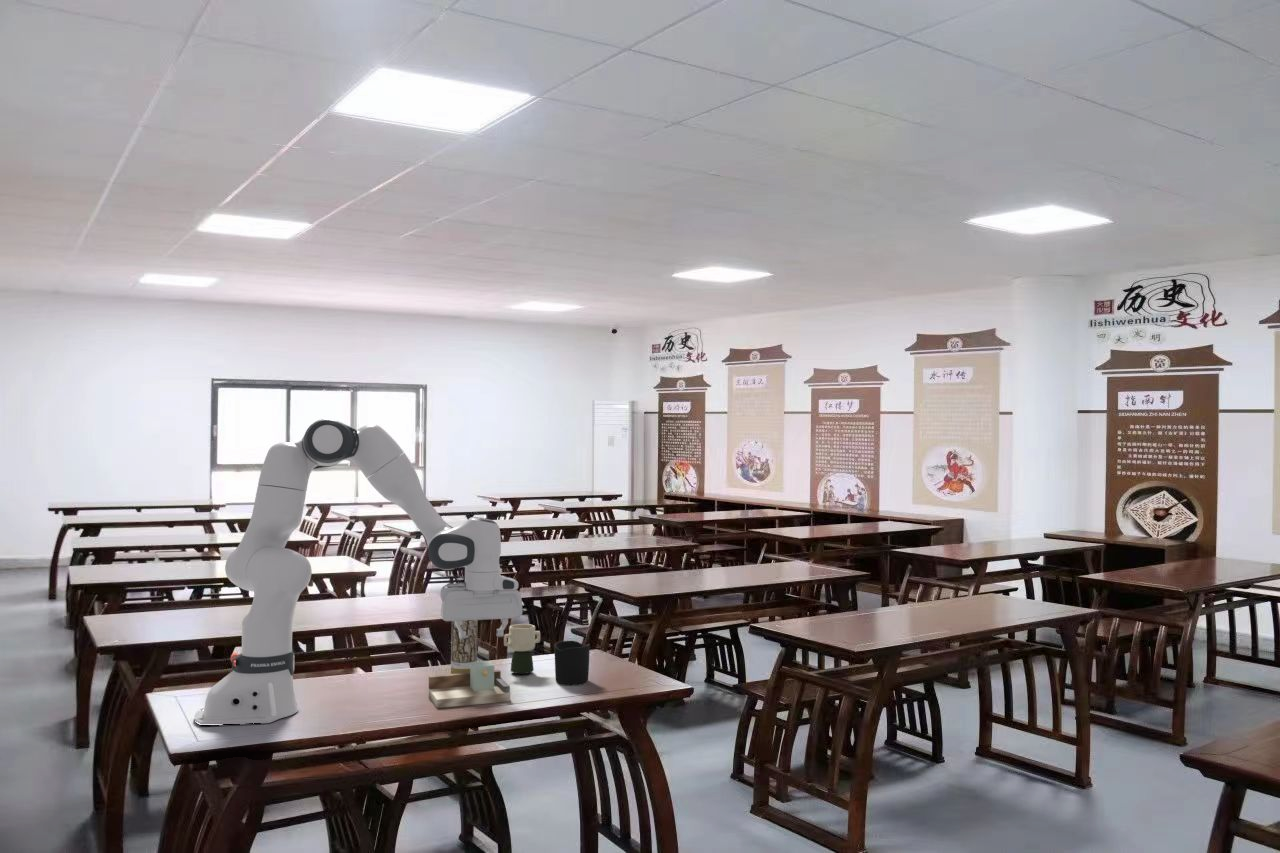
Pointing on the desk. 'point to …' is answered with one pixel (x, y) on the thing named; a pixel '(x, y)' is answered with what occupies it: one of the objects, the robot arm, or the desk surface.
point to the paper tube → (463, 647)
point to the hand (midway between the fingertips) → (481, 637)
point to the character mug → (522, 646)
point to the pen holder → (571, 662)
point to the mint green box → (482, 676)
